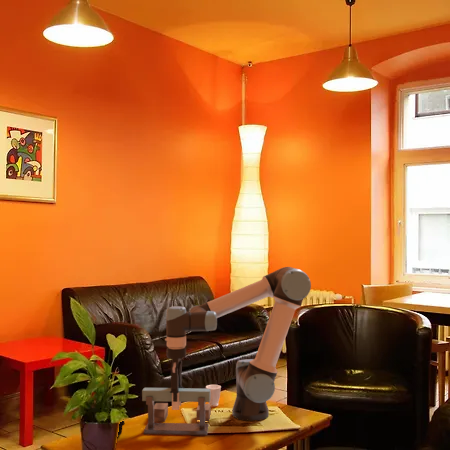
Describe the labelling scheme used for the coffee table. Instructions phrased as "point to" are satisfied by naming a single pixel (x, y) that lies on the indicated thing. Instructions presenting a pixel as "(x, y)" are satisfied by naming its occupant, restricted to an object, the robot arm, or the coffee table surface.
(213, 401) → the cup
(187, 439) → the coffee table surface
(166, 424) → the stand
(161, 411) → the rest blocks
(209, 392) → the rail
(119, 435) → the controller
